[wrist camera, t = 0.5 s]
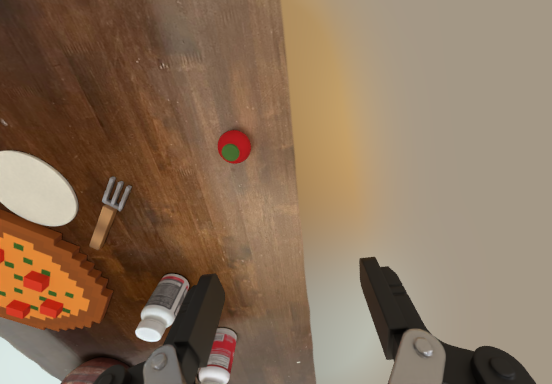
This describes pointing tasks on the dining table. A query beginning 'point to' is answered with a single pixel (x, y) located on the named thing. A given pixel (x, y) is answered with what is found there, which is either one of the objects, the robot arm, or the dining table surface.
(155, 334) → the pill bottle
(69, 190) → the plate
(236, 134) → the strawberry
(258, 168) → the dining table surface
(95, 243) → the fork
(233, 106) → the dining table surface
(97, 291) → the pizza
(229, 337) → the pill bottle
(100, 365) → the pottery
